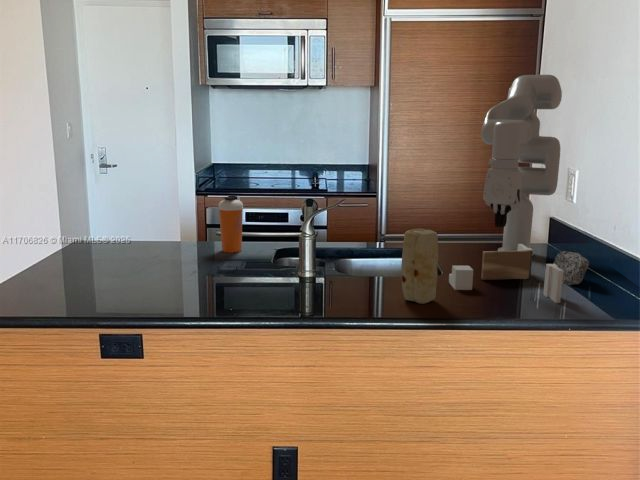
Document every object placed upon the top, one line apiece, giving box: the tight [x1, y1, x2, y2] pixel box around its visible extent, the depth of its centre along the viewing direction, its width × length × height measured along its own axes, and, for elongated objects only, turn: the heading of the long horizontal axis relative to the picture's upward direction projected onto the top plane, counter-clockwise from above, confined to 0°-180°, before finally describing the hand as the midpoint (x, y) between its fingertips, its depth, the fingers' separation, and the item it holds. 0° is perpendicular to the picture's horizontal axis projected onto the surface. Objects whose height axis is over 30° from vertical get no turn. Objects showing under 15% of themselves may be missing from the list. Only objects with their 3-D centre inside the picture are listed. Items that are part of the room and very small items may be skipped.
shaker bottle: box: [218, 195, 244, 254], centre depth 213 cm, size 9×9×20 cm
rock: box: [552, 250, 590, 286], centre depth 180 cm, size 16×8×10 cm, turn 173°
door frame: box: [517, 244, 563, 304], centre depth 174 cm, size 2×33×9 cm, turn 0°
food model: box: [400, 228, 439, 305], centre depth 158 cm, size 10×7×20 cm
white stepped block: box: [448, 265, 474, 291], centre depth 174 cm, size 8×5×6 cm, turn 0°
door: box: [480, 250, 534, 281], centre depth 181 cm, size 3×16×9 cm, turn 96°
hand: (500, 226), depth 174 cm, fingers closed
